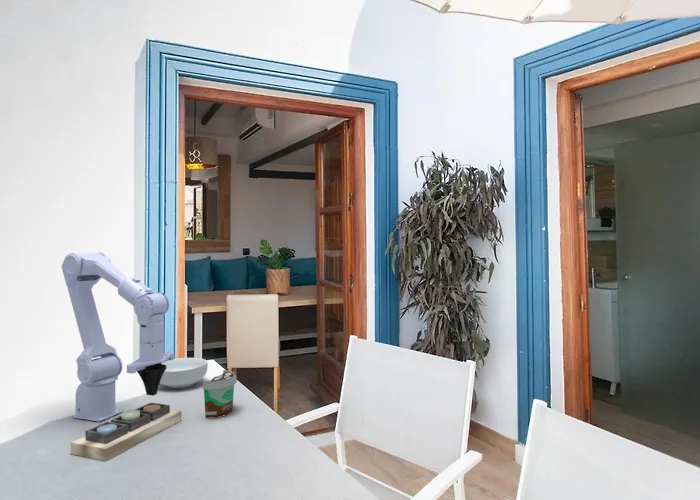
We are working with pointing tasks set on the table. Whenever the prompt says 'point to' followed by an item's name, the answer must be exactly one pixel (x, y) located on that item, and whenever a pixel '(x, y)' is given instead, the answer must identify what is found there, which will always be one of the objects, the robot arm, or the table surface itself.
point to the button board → (124, 433)
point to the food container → (219, 394)
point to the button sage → (130, 415)
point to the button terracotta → (151, 408)
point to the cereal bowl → (183, 372)
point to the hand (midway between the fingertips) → (151, 394)
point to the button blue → (107, 428)
